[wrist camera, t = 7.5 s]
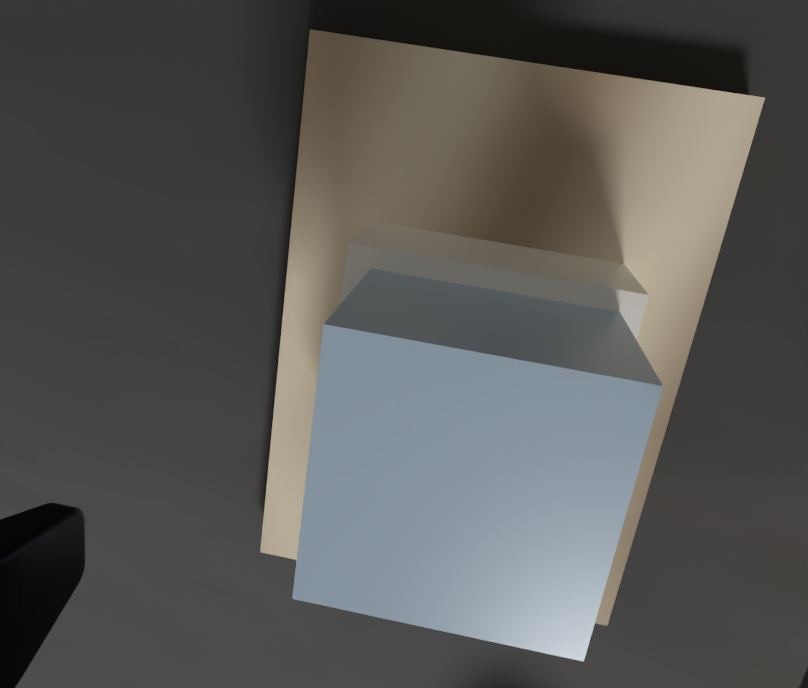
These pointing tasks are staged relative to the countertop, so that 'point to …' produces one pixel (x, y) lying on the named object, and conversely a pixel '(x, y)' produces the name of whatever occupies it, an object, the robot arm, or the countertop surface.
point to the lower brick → (495, 268)
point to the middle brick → (472, 460)
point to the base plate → (501, 204)
